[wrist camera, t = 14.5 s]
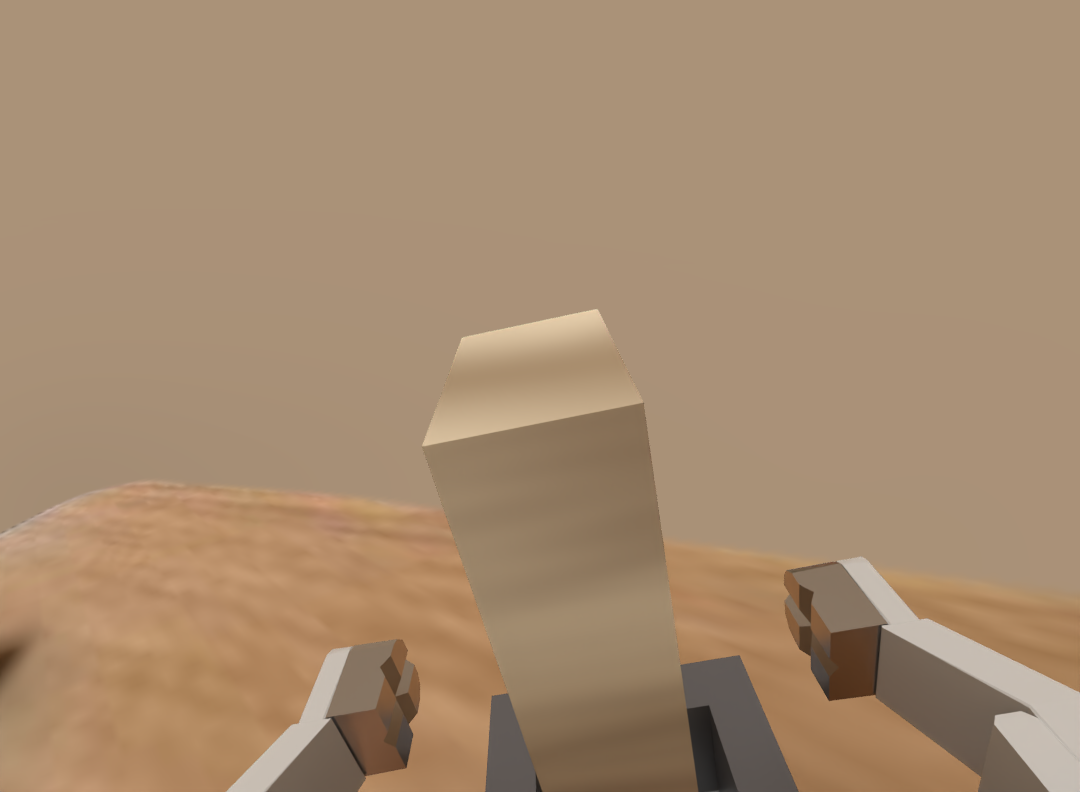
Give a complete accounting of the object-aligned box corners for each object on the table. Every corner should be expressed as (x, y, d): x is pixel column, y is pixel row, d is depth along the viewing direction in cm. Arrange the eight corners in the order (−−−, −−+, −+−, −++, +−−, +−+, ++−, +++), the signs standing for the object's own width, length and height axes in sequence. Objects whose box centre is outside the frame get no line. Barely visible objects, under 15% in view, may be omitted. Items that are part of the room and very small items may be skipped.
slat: (733, 1043, 13) (642, 402, 6) (634, 1054, 13) (422, 446, 6) (688, 849, 17) (596, 308, 9) (610, 860, 17) (462, 337, 9)
